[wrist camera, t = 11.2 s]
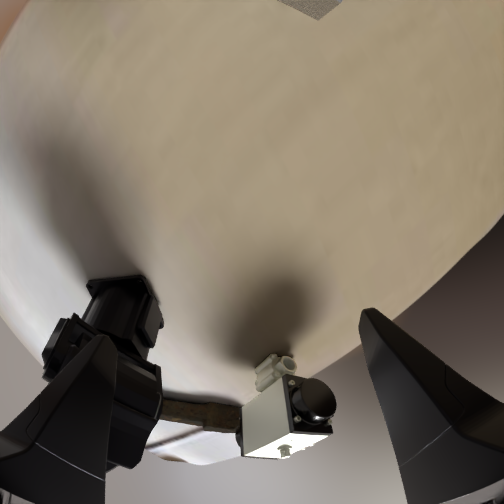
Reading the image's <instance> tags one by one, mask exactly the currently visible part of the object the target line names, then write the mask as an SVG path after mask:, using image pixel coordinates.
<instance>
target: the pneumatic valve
mask: <svg viewBox="0 0 504 504" xmlns="http://www.w3.org/2000/svg"><path fill="white" fill-rule="evenodd" d="M296 370H297V365H296V362H295V361H294V359H292V358H291V357H288V356H282V357H281V358H280V357H278V356H277V354H270V355H269V356H268V357H267V358H266V359H265V360H264V361H263V362H262V363H261V364H260V365H258V366H257V367H256V368H255V373H256V374H257V380H256V382H255V385H256V390H257V391H259V392H262V393H261V394H259V395H258V396H257V397H255V398H254V399H253V400H251V401H250V402H249V403H247V404H246V405H244V406H243V407H242V408H240V409H239V415H240V418H239V419H240V426H239V427H238V428H237V430H236V434H235V436H236V441H237V443H238V445H239V446H240V449H241V456H242V457H250V458H263V459H279V458H288V457H290V456H291V453H294V452H296V451H298V450H304V449H306V447H307V446H313V445H314V444H315V442H317V441H319V440H321V439H323V438H325V437H327V436H329V435H331V434H333V430H332V426H331V424H332V420H331V419H330V418H332V417H333V416H334V415H333V414H334V413H335V411H336V406H337V405H336V399H335V396H334V394H333V392H332V391H331V389H330V388H329V387H328V386H327V385H326V384H325V383H324V382H322V381H320V380H318V379H314V378H309V379H307V378H303V377H298V376H295V372H296Z"/></svg>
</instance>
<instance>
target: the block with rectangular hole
mask: <svg viewBox="0 0 504 504" xmlns="http://www.w3.org/2000/svg"><path fill="white" fill-rule="evenodd" d="M278 1H280V2H282V3H285V4H287V5H289V6H291V7H293V8H295V9H297V10H299V11H301V12H303V13H305V14H307V15H309V16H311V17H313V18H314V19H316V20H318V21H319V20H320V19H321V18H322V17H323V16H325V15H326V14H327V13H328V12H330V11H331V10H332V9H334V8H335V7H336V6H337V5H339V4H340V3H341V2H342V0H278Z"/></svg>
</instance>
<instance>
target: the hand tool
mask: <svg viewBox="0 0 504 504" xmlns="http://www.w3.org/2000/svg"><path fill="white" fill-rule="evenodd" d="M239 409H240V408H239V407H235V406H231V405H224V404H218V403H213V402H209V403H207V404H191V403H185V402H181V401H178V402H177V401H172V400H167V399H163V409H162V413H161V416H160V418H159V419H160V420H166V421H171V422H178V423H185V424H190V425H196V426H203V429H204V431H214V432H221V433H236V430H237V428H238V427H239V426H240V419H239V418H240V415H239Z"/></svg>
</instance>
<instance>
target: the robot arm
mask: <svg viewBox="0 0 504 504" xmlns="http://www.w3.org/2000/svg"><path fill="white" fill-rule="evenodd" d="M139 280H141V281H142V282H140V281H139ZM86 287H87V289H88V291H89V293H90V295H91V297H92V299H91V301H90V303H89V305H88V307H87V309H86V311H85V313H84V315H83V317H82V319H81V318H79V316H78V315H77V314H76V313H73V315H72V316H71V318H70V319H69V318H67V319H65V318H60V320H59V322H58V324H57V325H56V327H55V329H54V331H53V333H52V335H51V337H50V339H49V341H48V342H47V344H46V346H45V348H44V350H43V352H42V358H43V361H44V367H43V369H44V373H43V376H42V378H43V379H44V380H46V381H47V382H49V383H48V385H47V386H46V387H45V389H44V390H43V391H42V392H41V394H39V395H38V396H37V397H36V398H35V399H34V400H33V402H31V403H30V405H29V406H28V407H27V408H26V409H25V410H24V411H22V412H21V413H20V414H19V415H18V416H17V417H16V418H15V419H14V420H13V421H12V422H11V423H10V424H9V425H8V426H7V427H6V428H5V429H4V430H2V431H0V504H105V477H106V473H107V472H109V471H111V470H113V469H114V468H116V467H118V466H122V467H125V468H128V469H132V468H134V467H135V466H136V465H137V464H138V463H139V462H140V461H141V458H142V455H143V451H144V448H145V445H146V442H147V439H148V437H149V435H150V433H151V431H152V430H153V428H154V427H155V425H156V424H157V422H158V420H159V418H160V416H161V413H162V409H163V392H162V379H161V367H160V366H158V365H156V364H152V363H150V362H149V361H147V357H148V353H149V349H150V348H153V347H154V346H155V343H156V339H157V334H158V330H159V329H162V328H163V327H164V321H163V319H162V313H161V311H160V309H159V306H158V304H157V302H156V299H155V297H154V296H153V295H152V294H151V291H150V289H149V286H148V284H147V281H146V279H145V277H143V276H142V275H134V276H125V277H116V278H107V279H97V280H89V281H88V282H87V284H86ZM359 334H360V338H361V342H362V346H363V350H364V354H365V359H366V363H367V367H368V370H369V374H370V376H371V379H372V382H373V385H374V388H375V391H376V394H377V397H378V400H379V403H380V406H381V409H382V412H383V415H384V418H385V421H386V424H387V428H388V431H389V434H390V438H391V441H392V444H393V448H394V451H395V455H396V459H397V462H398V465H399V470H400V474H401V478H402V482H403V486H404V490H405V494H406V499H407V503H408V504H504V403H502V402H500V401H498V400H496V399H495V398H493V397H492V396H490V395H489V394H487V393H486V392H484V391H483V390H481V389H480V388H478V387H477V386H475V385H474V384H472V383H471V382H469V381H468V380H466V379H465V378H464V377H462V376H461V375H460V374H458V373H457V372H456V371H455V370H453V369H452V368H451V367H450V366H448V365H447V364H446V365H445V363H444V362H443V361H442V360H441V359H440V358H438V357H437V356H436V355H435V354H433V353H432V352H431V351H429V350H428V349H427V348H426V347H424V346H423V345H422V344H421V343H419V342H418V341H417V340H416V339H414V338H413V337H412V336H410V335H409V334H408V333H407V332H405V331H404V330H403V329H401V328H400V327H399V326H398V325H396V324H395V323H394V322H392V321H391V320H390V319H389V318H387V317H386V316H385V315H383V314H382V313H381V312H379V311H378V310H377V309H375V308H367V309H363V310H362V312H361V317H360V322H359Z"/></svg>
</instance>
